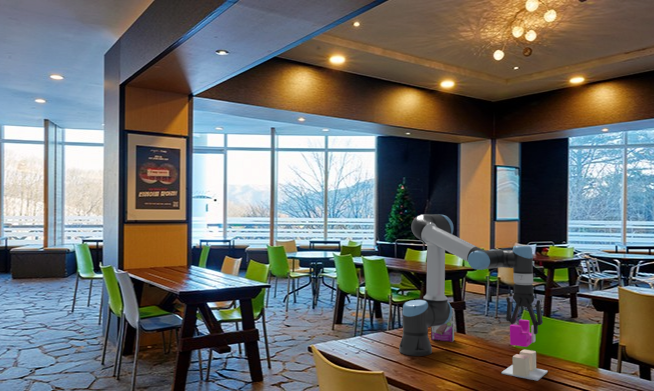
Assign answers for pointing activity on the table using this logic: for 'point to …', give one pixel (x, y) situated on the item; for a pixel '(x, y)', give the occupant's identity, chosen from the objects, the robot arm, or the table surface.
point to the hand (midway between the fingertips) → (524, 340)
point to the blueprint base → (531, 376)
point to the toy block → (520, 334)
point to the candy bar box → (444, 331)
